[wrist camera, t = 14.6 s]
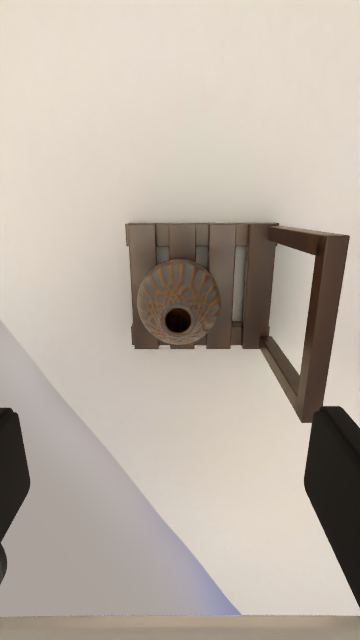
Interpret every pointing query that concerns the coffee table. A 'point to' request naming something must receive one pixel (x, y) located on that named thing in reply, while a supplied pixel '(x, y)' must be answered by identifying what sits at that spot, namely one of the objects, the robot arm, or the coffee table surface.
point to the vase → (178, 301)
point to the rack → (251, 294)
